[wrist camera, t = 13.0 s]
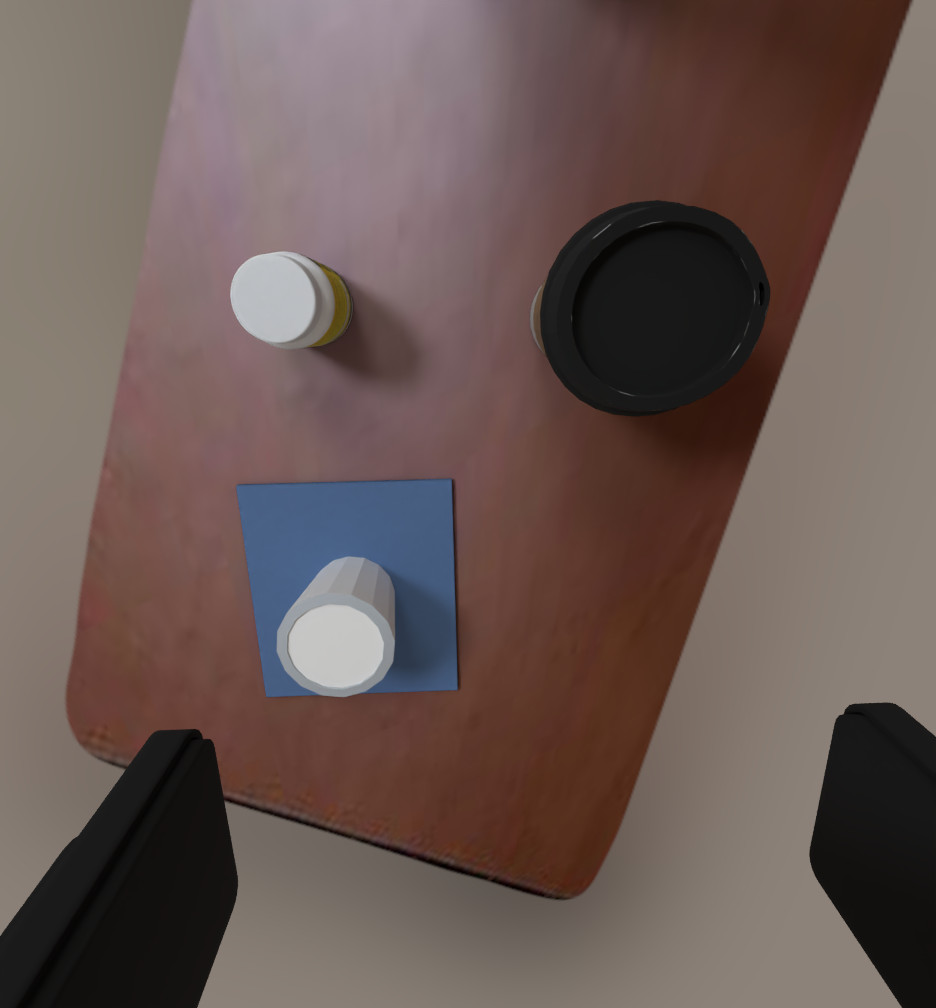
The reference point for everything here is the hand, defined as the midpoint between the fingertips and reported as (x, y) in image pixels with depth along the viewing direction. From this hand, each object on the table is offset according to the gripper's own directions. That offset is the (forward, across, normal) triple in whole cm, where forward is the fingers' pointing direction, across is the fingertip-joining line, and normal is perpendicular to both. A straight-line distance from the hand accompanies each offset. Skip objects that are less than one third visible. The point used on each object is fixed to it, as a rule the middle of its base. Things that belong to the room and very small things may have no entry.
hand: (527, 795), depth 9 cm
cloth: (+30, +8, +11) cm, 33 cm away
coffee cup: (+31, -7, -7) cm, 32 cm away
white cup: (+30, +8, +11) cm, 33 cm away
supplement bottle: (+31, +9, -8) cm, 33 cm away
